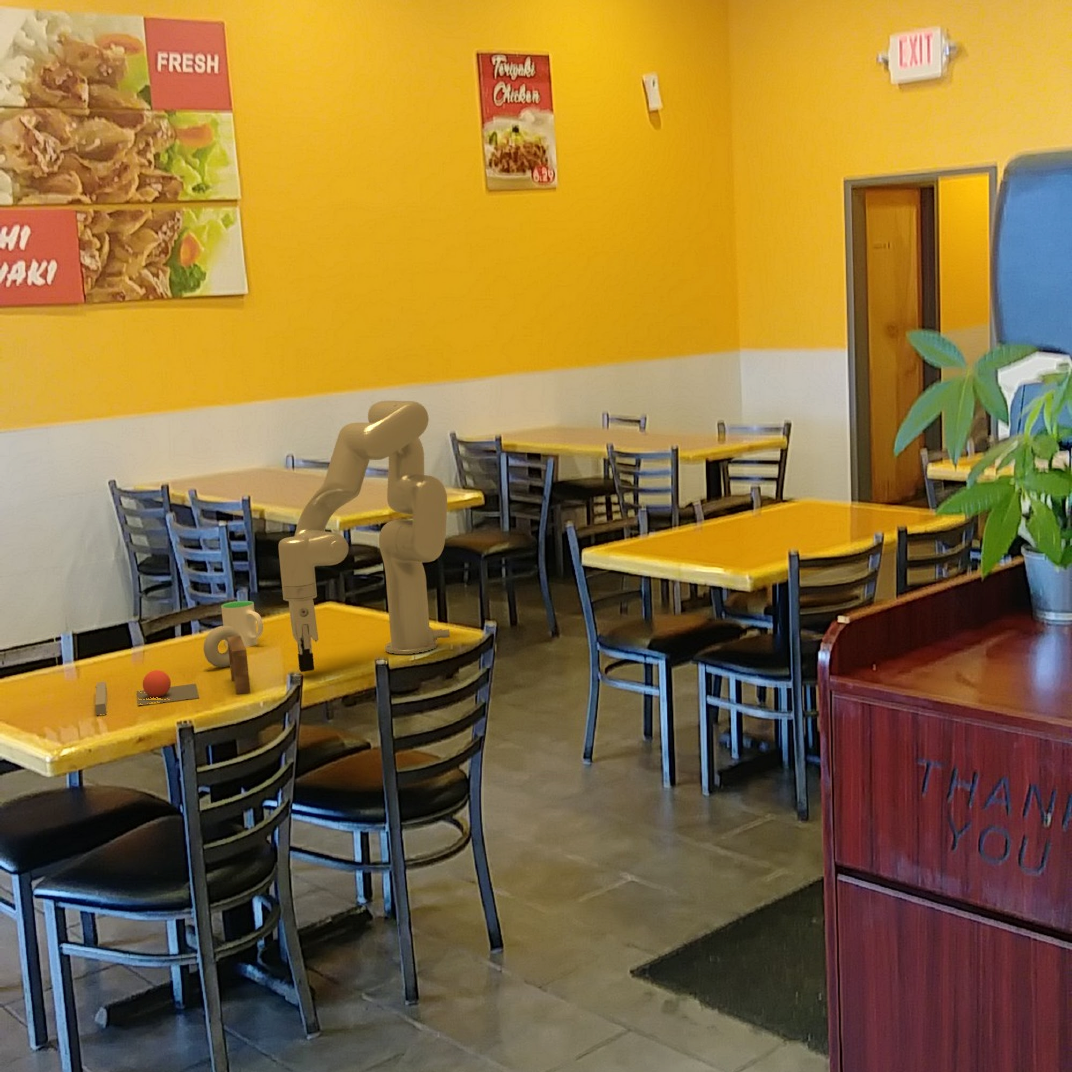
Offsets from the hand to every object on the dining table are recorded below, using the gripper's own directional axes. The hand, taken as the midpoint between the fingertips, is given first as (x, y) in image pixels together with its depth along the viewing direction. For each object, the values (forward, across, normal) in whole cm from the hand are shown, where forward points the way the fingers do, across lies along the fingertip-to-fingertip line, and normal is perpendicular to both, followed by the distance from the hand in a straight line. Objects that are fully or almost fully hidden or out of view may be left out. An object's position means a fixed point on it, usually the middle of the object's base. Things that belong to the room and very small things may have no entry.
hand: (306, 670), depth 321 cm
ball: (-2, 0, +33) cm, 33 cm away
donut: (+2, +20, +17) cm, 26 cm away
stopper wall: (+2, 0, +45) cm, 45 cm away
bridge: (+2, 0, +15) cm, 15 cm away
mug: (+2, +41, +10) cm, 42 cm away
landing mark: (+2, 0, +31) cm, 31 cm away
